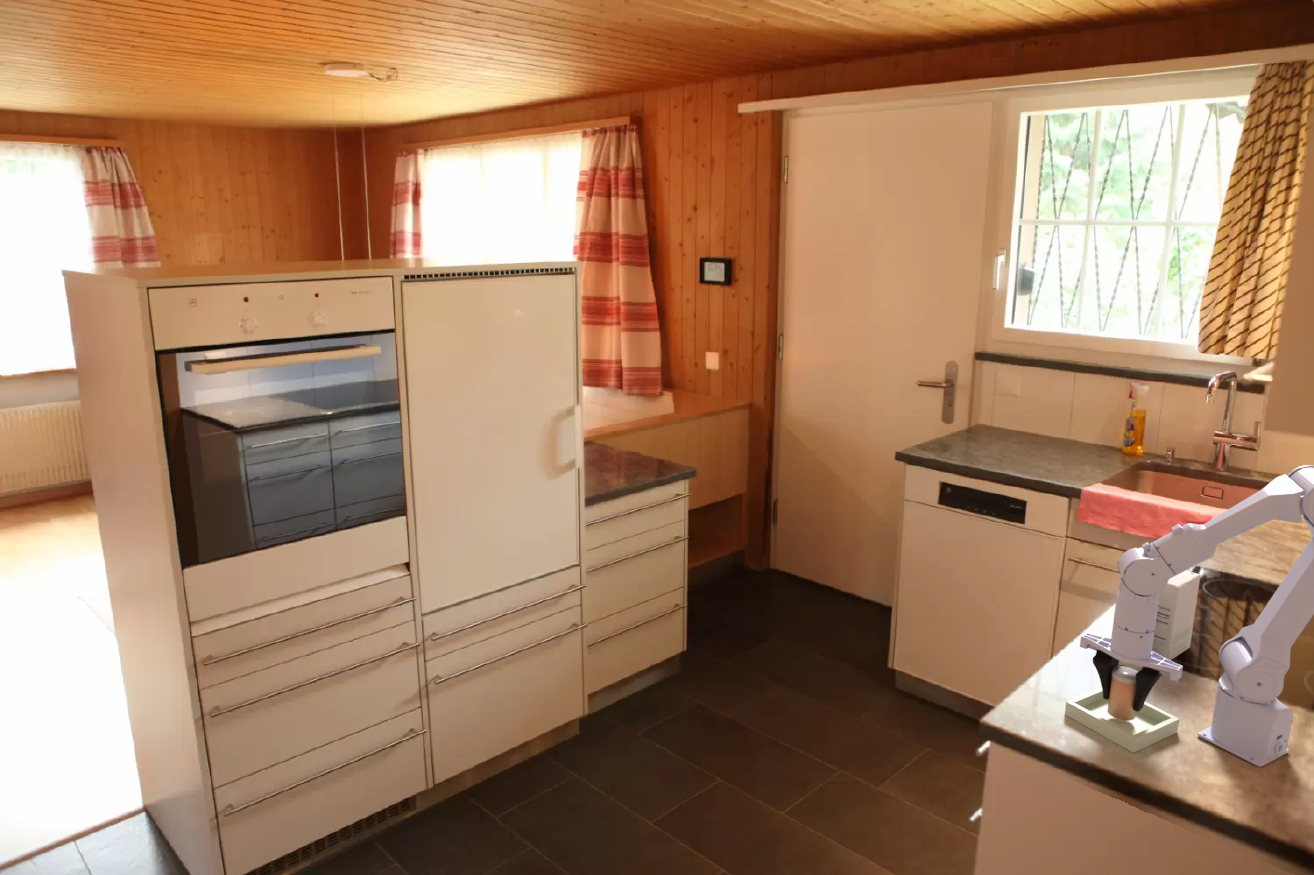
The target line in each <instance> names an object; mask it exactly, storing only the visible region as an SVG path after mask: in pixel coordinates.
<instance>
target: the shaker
mask: <svg viewBox="0 0 1314 875" xmlns="http://www.w3.org/2000/svg"><path fill="white" fill-rule="evenodd" d="M1137 672H1139V670H1137V669H1134V668H1130V667H1127V666H1123V665H1120V666H1119V665H1118V667H1114V668H1113V669H1112V680H1111V687H1110V694H1109V702H1108V709H1107V712H1108V713H1109V714H1110V715H1111V716H1112V717H1114V718H1117V719H1120V720H1125V721H1129V720H1133V719H1135V716H1136V711H1134V710H1133V704H1134V699H1135V695H1136V673H1137Z"/></svg>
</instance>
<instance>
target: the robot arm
mask: <svg viewBox="0 0 1314 875" xmlns="http://www.w3.org/2000/svg"><path fill="white" fill-rule="evenodd" d="M1302 517H1303V518H1302ZM1303 519H1304V521H1305V524H1306V526H1307V528H1308V530H1309V532H1310V534H1311V538H1310V539H1309V542H1308V543H1307V544H1306V546H1305V548H1304V549H1303V550H1302V552H1301V554H1299V556H1298V558H1297V559H1296V561H1295V562H1294V564H1293V565H1292V567H1290V569H1289V571H1288V573H1287V574H1286V576H1285V577H1284V578H1283V580H1282V581H1281V583H1280V585H1279V586H1278V587H1277V589H1276V590H1275V592H1274V593H1273V595H1272V596H1271V597H1270V599H1269V601H1268V602H1267V604H1266V605H1265V607H1264V608H1263V610H1262V611H1261V613H1260V614H1259V616H1258V617H1257V618H1256V620H1255V622H1254V623H1253V624H1251V625H1247V626H1244V627H1242V628H1241V629H1240V630H1239V632H1238V633H1237V634H1236V635H1235V636H1234V637H1232V638H1230V639H1229V640H1226V641H1225V642H1224V643H1222V645H1221V646H1220V647H1219V651H1218V660H1219V662H1220V664H1221V666H1222V667H1223V668H1224V669H1223V670H1224V671H1223V673H1222V675H1221V676H1220V678H1219V679H1218V685H1217V691H1216V696H1215V702H1214V708H1213V714H1212V720H1211V725H1210V726H1208V727H1206V728H1204V729H1202V730H1200V731H1198V732H1197V736H1198V737H1199V738H1201V739H1204V740H1205V741H1207V742H1210V743H1211V744H1213V745H1215V746H1218V747H1219V748H1221V749H1223V750H1225V751H1227V752H1229V753H1231V754H1233V755H1235V756H1237V757H1239V758H1241V759H1243V760H1244V761H1246V762H1249V763H1251V764H1253V765H1254V766H1257V767H1258V768H1259V767H1263V766H1266V765H1267V764H1269V763H1271V762H1273V761H1274V760H1276V759H1279V758H1280V757H1283V756H1284V755H1286V754H1287V753H1289V751H1290V749H1289V748H1288V745H1289V740H1290V735H1291V729H1292V725H1293V724H1292V723H1293V720H1294V715H1293V714H1294V713H1293V710H1292V709H1291V708H1290V707H1289V706H1287V705H1285V704H1284V703H1282V702H1281V701H1280V700H1279V699H1278V697H1279V696H1280V695H1281V693H1282V692H1283V690H1284V686H1285V685H1284V683H1285V682H1284V681H1285V675H1286V673H1287V672H1288V671H1289V669H1290V666H1291V649H1292V646H1293V645H1294V644H1295V642H1296V640H1297V639H1298V637H1300V635H1301V633H1302V632H1303V630H1304V629H1305V627H1306V626H1307V625H1308V623H1309V622H1310V620H1311V619H1312V618H1313V616H1314V465H1313V464H1306V465H1305V464H1304V465H1301V466H1298V467H1295V468H1294V469H1292V470H1291V471H1290V472H1289V473H1288V474H1282V475H1279V476H1276V477H1275V478H1274V479H1273V480H1271V481H1270V482H1269V483H1268V484H1267V485H1265V486H1264V487H1262V488H1261V489H1260V490H1258V491H1256V492H1255V493H1253V494H1251V495H1249V497H1247V498H1244V499H1243V500H1242V501H1240V502H1239V503H1237V504H1235V505H1233V506H1232V507H1230V508H1228V509H1227V510H1225V511H1223V512H1222V513H1219V515H1217V516H1215V517H1213V518H1212V519H1209V520H1208V521H1207V522H1205V523H1203V524H1199V523H1198V524H1197V523H1192V522H1190V523H1189V522H1188V523H1185V524H1184V525H1182V526H1181V524H1179V523H1177V524H1175V525H1174V526H1172V527H1171V528H1170V529H1171V530H1172V531H1171V532H1169V533H1167V534H1165V535H1163V536H1162V537H1160V538H1158V539H1156V540H1154V541H1152V542H1150V543H1149V542H1147V541H1146V542H1144V543H1142V544H1141V547H1139V548H1137V547H1133V548H1129V549H1128V550H1126V551H1124V553H1122V555H1121V557H1120V558H1119V559H1118V560H1117V561H1116V566H1117V570H1118V572H1119V573H1120V575H1121V577H1120V580H1119V584H1118V592H1117V594H1116V601H1115V607H1114V614H1113V615H1114V616H1113V624H1112V631H1111V637H1106V636H1100V635H1096V634H1092V633H1089V632H1085V633H1084V634H1082V635H1081V636H1080V642H1079V647H1080V648H1082V649H1085V650H1087V649H1091V650H1094V651H1095V655H1094V656H1093V657H1092V663H1093V666H1094V667H1095V669H1096V672H1097V674H1098V677H1099V681H1100V684H1101V687H1102V691H1103V698H1104V699H1106V700H1108V699H1109V694H1110V687H1111V680H1112V669H1113V668H1114V667H1118V666H1119V664H1118V663H1119V660H1120V661H1122V662H1125V663H1129V664H1134V665H1138V666H1140V668H1142V669H1139V670H1138V672H1137V673H1136V695H1135V699H1134V704H1133V710H1134V711H1137V712H1138V711H1140V710H1141V709H1142V708H1143V705H1144V702H1146V700H1147V698H1148V695H1149V693H1150V692H1151V691H1152V689H1153V687H1154V685H1155V684H1156V683H1157V682H1158V680H1159V679H1160V678H1161V677H1162V675H1163V676H1166V677H1169V678H1168V679H1169V680H1171V681H1174V682H1177V681H1178V680H1180V679H1181V678H1182V674H1183V668H1184V666H1183V665H1181V664H1179V663H1178V662H1177V663H1176V662H1174V661H1172V660H1168V659H1166V658H1164V657H1163V656H1161V655H1159V654H1157V653H1155V652H1153V651H1152V645H1153V638H1154V632H1155V624H1156V617H1157V611H1158V605H1159V601H1158V598H1159V592H1162V591H1163V590H1164V589H1165V587H1166V585H1167V583H1168V580H1169V579H1170V578H1172V577H1174V576H1176V575H1178V574H1180V573H1182V572H1184V571H1189V569H1191V568H1194V567H1196V566H1197V565H1200V564H1201V563H1203V562H1205V561H1207V560H1209V559H1211V558H1214V557H1215V556H1214V555H1215V553H1216V550H1217V547H1218V545H1220V544H1222V543H1224V542H1226V541H1229V540H1231V539H1233V538H1235V537H1238V536H1239V535H1241V534H1242V535H1243V534H1244V533H1246V532H1248V531H1251V530H1253V529H1254V528H1257V527H1259V526H1262V525H1264V524H1266V523H1268V522H1270V521H1273V520H1276V521H1283V522H1290V523H1294V524H1295V523H1298V524H1303V523H1304V522H1303Z"/></svg>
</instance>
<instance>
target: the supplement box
mask: <svg viewBox="0 0 1314 875" xmlns="http://www.w3.org/2000/svg"><path fill="white" fill-rule="evenodd" d="M1200 581H1201V574H1200V573H1196V572H1192V571H1189V570H1186V571H1184V572H1182V573H1180V574H1178V575H1176V576H1174V577H1172V578H1170V579H1169V580H1168V583H1167V585H1166V587H1165V589H1164V590H1163V591H1162V592H1159V598H1158V601H1159V605H1158V611H1157V617H1156V624H1155V632H1154V638H1153V645H1152V651H1153V652H1155V653H1157V654H1159V655H1161V656H1163V657H1164V658H1166V659H1168V660H1170V661H1172V660H1173V659H1174V658H1176V657H1178V656H1179V655H1181V654H1182V653H1184V652H1185V651H1188V649H1190V648H1191V643H1192V635H1193V628H1194V623H1195V622H1194V621H1195V617H1196V616H1195V614H1196V607H1197V604H1198V603H1197V601H1198V594H1199V589H1200V588H1199V587H1200Z"/></svg>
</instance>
